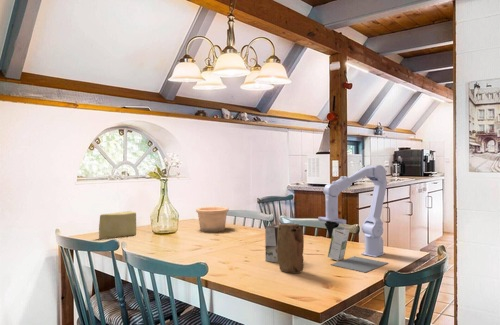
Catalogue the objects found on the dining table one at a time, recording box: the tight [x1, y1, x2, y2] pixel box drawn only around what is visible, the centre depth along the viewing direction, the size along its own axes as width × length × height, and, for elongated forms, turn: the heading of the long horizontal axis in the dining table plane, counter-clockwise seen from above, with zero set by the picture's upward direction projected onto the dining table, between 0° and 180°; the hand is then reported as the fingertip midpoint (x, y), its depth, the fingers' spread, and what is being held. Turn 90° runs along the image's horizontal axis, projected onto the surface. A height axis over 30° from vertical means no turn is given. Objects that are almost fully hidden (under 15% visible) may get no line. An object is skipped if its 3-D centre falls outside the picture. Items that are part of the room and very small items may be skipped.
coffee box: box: [264, 223, 279, 263], centre depth 183 cm, size 9×6×16 cm
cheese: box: [98, 210, 137, 240], centre depth 243 cm, size 22×10×15 cm, turn 133°
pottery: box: [195, 206, 229, 233], centre depth 262 cm, size 22×22×14 cm
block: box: [277, 222, 305, 274], centre depth 165 cm, size 11×8×20 cm
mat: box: [330, 256, 389, 274], centre depth 174 cm, size 20×17×1 cm
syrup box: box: [327, 226, 350, 262], centre depth 182 cm, size 6×6×14 cm
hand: (332, 237), depth 184 cm, fingers closed
